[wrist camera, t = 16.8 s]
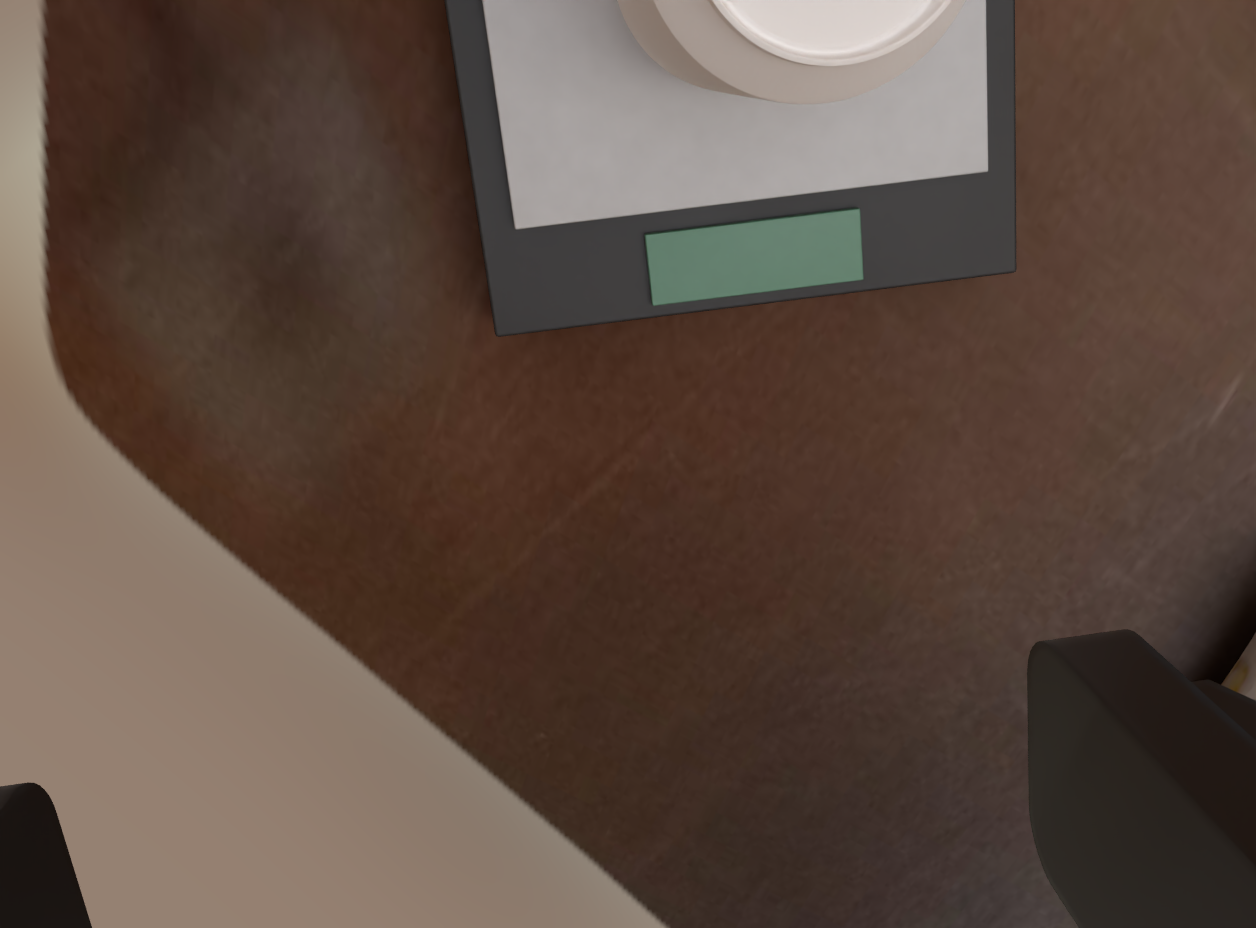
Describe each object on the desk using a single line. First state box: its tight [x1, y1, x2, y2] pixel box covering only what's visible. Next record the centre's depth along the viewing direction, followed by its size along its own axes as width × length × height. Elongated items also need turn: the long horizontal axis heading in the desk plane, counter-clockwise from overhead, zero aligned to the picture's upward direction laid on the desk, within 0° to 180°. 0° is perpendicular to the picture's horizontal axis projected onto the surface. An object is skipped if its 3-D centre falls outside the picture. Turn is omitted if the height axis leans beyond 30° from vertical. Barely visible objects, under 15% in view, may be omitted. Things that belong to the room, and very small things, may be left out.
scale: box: [444, 0, 1016, 337], centre depth 32 cm, size 15×16×3 cm
